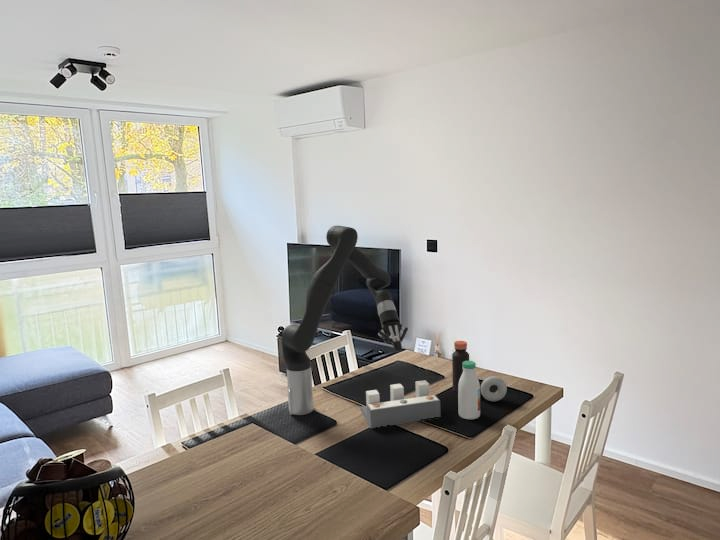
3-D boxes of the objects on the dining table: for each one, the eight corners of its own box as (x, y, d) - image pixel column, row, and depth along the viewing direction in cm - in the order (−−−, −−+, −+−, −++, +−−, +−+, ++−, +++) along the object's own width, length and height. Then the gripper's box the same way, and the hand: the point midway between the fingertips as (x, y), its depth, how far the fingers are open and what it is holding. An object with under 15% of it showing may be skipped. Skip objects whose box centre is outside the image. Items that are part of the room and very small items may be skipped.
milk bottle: (474, 422, 174) (474, 367, 171) (454, 416, 178) (454, 363, 175) (483, 413, 180) (483, 361, 177) (464, 408, 185) (463, 357, 181)
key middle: (394, 409, 182) (393, 388, 181) (390, 405, 186) (390, 384, 185) (404, 408, 183) (403, 387, 182) (400, 403, 187) (400, 383, 186)
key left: (369, 416, 178) (368, 395, 176) (366, 411, 181) (365, 391, 180) (380, 414, 178) (379, 393, 177) (377, 410, 182) (376, 389, 181)
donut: (505, 398, 192) (505, 374, 190) (507, 402, 188) (508, 377, 187) (479, 399, 192) (479, 375, 190) (481, 403, 188) (481, 378, 187)
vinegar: (449, 387, 204) (449, 341, 201) (464, 385, 206) (463, 339, 203) (457, 394, 198) (457, 346, 194) (472, 391, 200) (472, 343, 196)
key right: (419, 405, 185) (419, 385, 183) (415, 401, 188) (415, 381, 187) (429, 404, 185) (429, 383, 184) (425, 399, 189) (425, 380, 188)
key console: (370, 428, 172) (370, 409, 171) (360, 410, 187) (360, 392, 186) (440, 417, 178) (440, 399, 177) (425, 400, 193) (425, 383, 192)
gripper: (373, 310, 201) (384, 349, 191) (404, 307, 204) (416, 344, 194) (371, 320, 207) (380, 357, 197) (401, 316, 210) (412, 353, 200)
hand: (398, 351), depth 196 cm, fingers closed
